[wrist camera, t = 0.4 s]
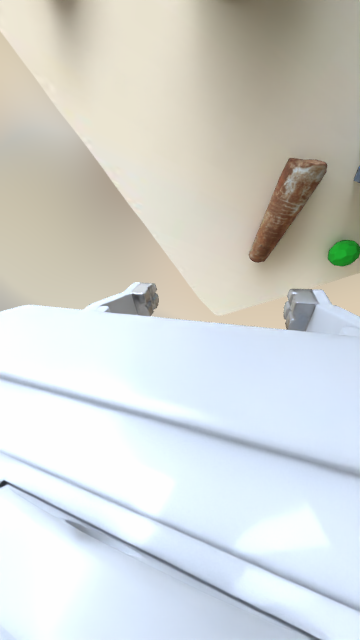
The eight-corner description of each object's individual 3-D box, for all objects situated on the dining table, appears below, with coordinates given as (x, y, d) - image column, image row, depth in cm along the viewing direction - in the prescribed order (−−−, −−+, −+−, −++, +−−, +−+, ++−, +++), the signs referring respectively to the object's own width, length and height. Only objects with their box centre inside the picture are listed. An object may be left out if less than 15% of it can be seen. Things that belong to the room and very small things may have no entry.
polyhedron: (327, 239, 39) (334, 248, 35) (358, 234, 37) (368, 244, 34) (323, 261, 42) (328, 272, 39) (351, 257, 40) (359, 268, 37)
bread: (326, 161, 31) (336, 166, 27) (264, 260, 45) (265, 272, 42) (290, 150, 31) (295, 152, 28) (240, 252, 46) (238, 263, 42)
